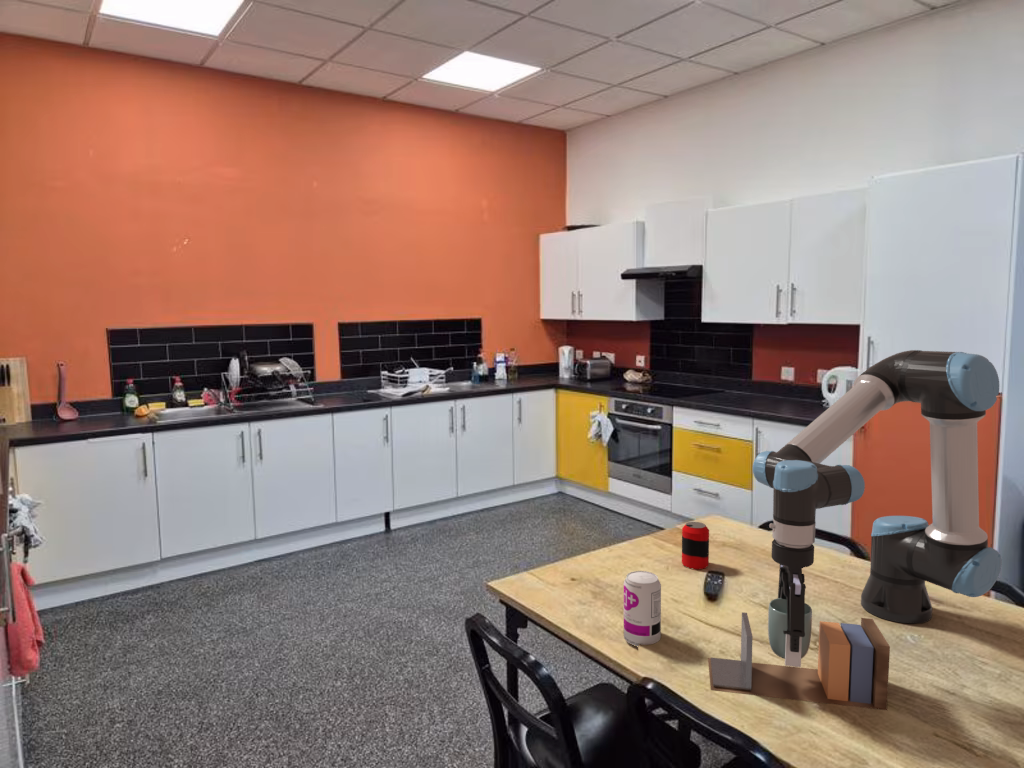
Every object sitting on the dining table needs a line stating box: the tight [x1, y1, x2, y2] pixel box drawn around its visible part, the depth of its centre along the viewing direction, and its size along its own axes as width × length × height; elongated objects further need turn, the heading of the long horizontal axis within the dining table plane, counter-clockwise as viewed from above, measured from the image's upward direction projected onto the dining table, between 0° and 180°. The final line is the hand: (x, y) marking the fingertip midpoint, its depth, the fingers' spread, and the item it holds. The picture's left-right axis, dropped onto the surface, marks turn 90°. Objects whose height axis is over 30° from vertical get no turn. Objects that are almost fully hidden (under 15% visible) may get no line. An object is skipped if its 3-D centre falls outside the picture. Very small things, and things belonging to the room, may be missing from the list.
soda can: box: [681, 521, 710, 570], centre depth 192 cm, size 8×8×12 cm
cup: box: [767, 597, 813, 660], centre depth 129 cm, size 8×8×10 cm
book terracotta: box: [817, 620, 850, 701], centre depth 128 cm, size 4×9×11 cm, turn 166°
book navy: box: [840, 622, 874, 704], centre depth 127 cm, size 4×9×11 cm, turn 166°
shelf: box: [707, 617, 891, 711], centre depth 130 cm, size 31×12×13 cm, turn 76°
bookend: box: [710, 612, 754, 691], centre depth 132 cm, size 7×10×11 cm
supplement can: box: [623, 570, 662, 648], centre depth 149 cm, size 8×8×15 cm
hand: (788, 653), depth 130 cm, fingers closed on cup, 8 cm apart
